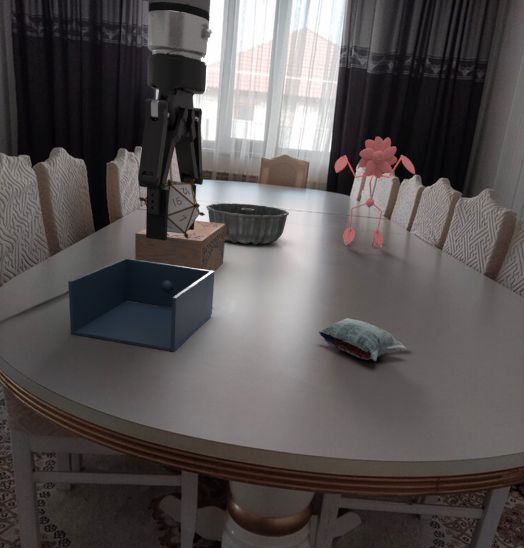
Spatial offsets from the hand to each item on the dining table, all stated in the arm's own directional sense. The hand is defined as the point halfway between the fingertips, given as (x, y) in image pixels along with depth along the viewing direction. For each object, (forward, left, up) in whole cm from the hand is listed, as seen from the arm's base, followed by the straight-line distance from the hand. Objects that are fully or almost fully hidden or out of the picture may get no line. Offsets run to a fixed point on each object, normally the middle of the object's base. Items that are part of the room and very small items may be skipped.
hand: (171, 233), depth 74 cm
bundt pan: (-12, +94, -17) cm, 97 cm away
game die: (0, 0, 0) cm, 0 cm away
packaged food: (+29, +10, -17) cm, 36 cm away
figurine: (+26, +107, -17) cm, 112 cm away
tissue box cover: (-15, +45, -17) cm, 51 cm away
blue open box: (-7, +12, -17) cm, 22 cm away
